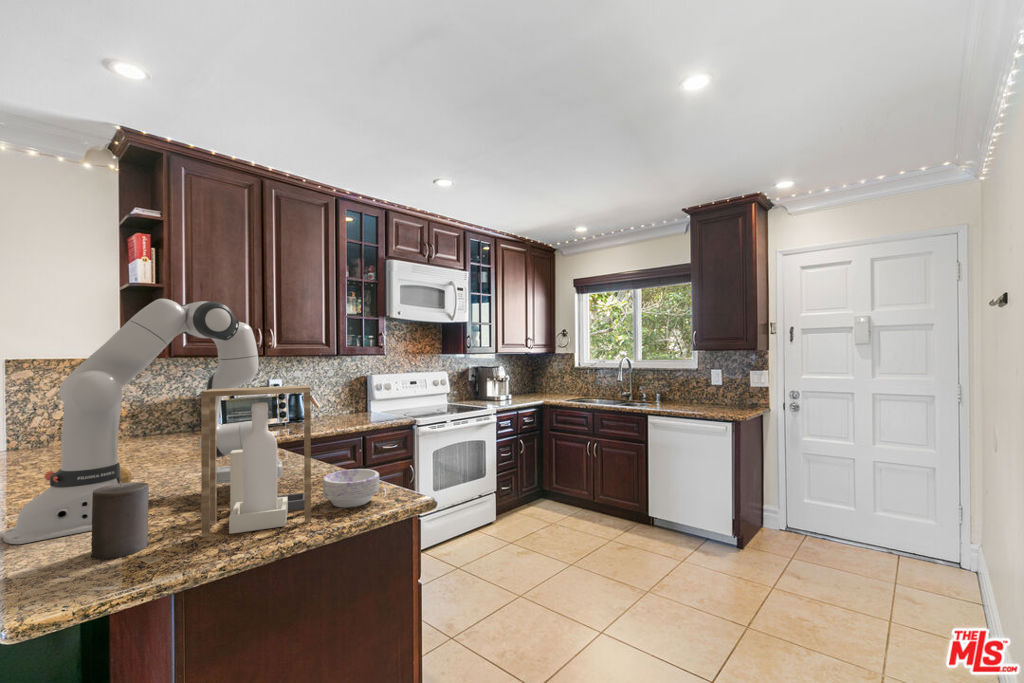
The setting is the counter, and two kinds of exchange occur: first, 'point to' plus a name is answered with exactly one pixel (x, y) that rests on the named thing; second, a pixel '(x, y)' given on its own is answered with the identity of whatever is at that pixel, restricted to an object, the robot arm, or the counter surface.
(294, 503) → the tray
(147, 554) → the counter surface
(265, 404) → the bottle
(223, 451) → the robot arm
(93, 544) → the pillar candle
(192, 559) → the counter surface
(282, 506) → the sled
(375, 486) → the paper bowls
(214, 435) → the oak shelf bridge
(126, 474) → the potato
